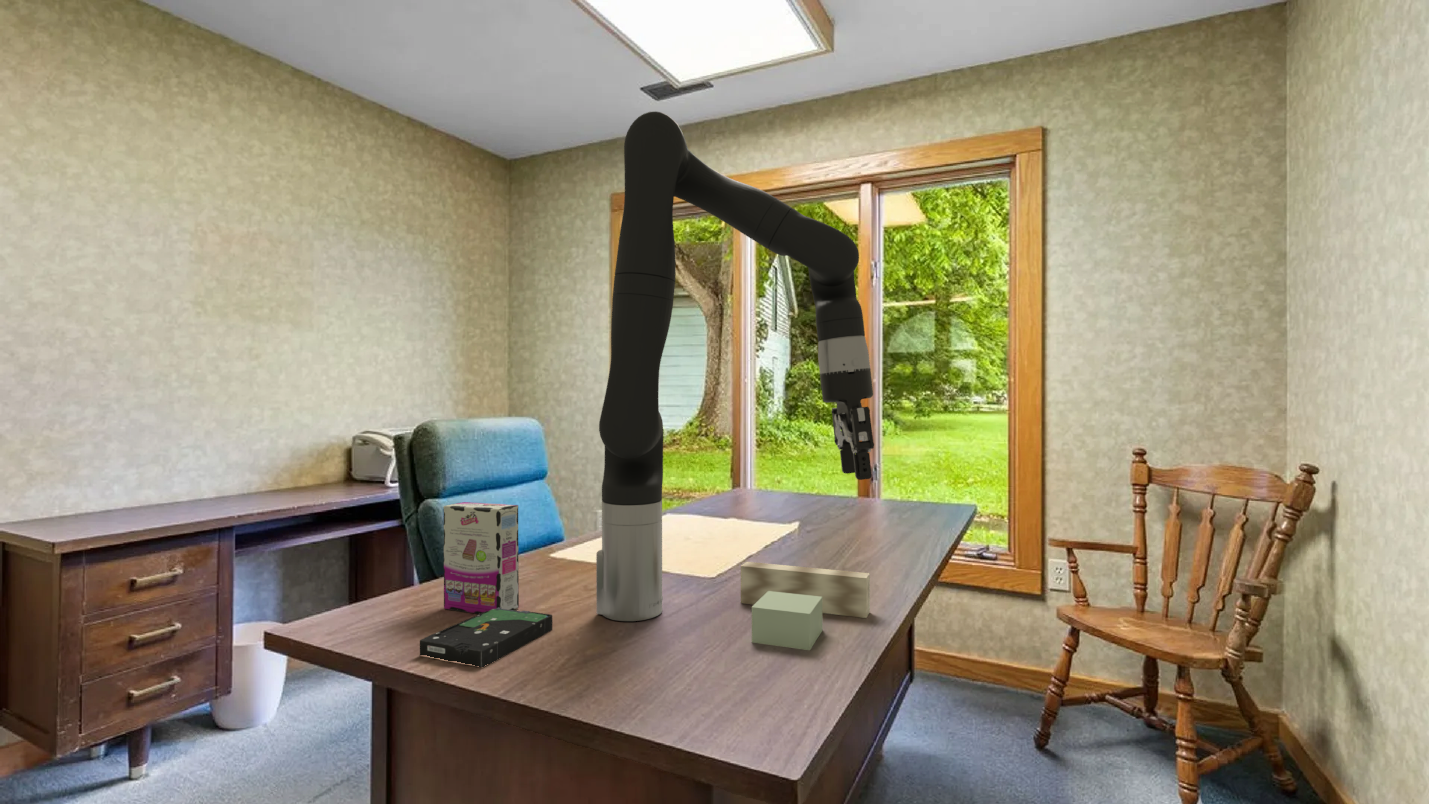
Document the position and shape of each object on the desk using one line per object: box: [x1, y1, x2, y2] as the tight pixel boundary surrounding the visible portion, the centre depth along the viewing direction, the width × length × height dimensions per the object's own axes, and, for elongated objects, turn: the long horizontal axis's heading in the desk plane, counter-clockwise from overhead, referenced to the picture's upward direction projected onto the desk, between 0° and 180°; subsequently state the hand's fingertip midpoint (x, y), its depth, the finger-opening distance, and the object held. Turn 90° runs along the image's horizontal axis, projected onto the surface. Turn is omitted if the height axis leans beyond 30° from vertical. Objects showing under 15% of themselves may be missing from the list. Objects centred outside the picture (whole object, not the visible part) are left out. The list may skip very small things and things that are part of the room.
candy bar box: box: [442, 501, 520, 615], centre depth 104 cm, size 11×5×16 cm, turn 68°
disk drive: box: [419, 607, 554, 668], centre depth 90 cm, size 10×3×15 cm
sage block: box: [751, 591, 823, 651], centre depth 92 cm, size 8×8×5 cm
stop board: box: [740, 561, 871, 619], centre depth 105 cm, size 20×3×6 cm, turn 68°
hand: (856, 475), depth 100 cm, fingers open, 8 cm apart
